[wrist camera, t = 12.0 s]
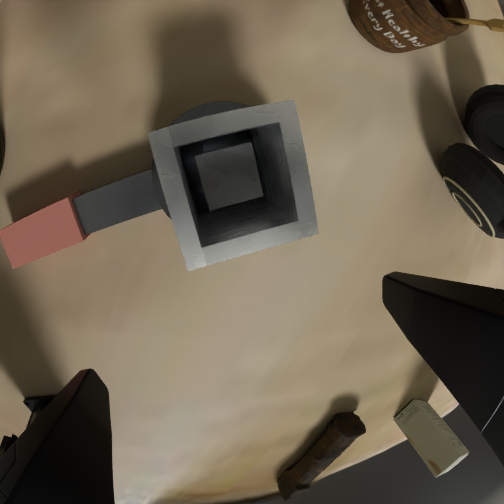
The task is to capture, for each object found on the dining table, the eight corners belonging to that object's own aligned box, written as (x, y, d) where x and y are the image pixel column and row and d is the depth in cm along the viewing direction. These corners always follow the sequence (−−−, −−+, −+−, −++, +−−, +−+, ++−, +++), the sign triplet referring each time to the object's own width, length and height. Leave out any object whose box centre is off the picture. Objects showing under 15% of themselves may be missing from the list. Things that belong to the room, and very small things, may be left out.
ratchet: (39, 286, 16) (9, 324, 12) (3, 191, 13) (-40, 208, 9) (288, 209, 18) (321, 232, 14) (264, 97, 15) (292, 80, 11)
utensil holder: (371, -20, 13) (478, -73, 2) (421, 39, 15) (541, 19, 4) (329, 7, 13) (452, -68, 2) (388, 72, 16) (532, 53, 5)
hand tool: (332, 409, 27) (348, 440, 23) (357, 409, 29) (374, 437, 24) (261, 482, 32) (268, 507, 28) (284, 481, 33) (292, 504, 29)
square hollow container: (188, 231, 15) (188, 271, 10) (162, 137, 13) (147, 132, 8) (279, 205, 15) (318, 233, 11) (260, 113, 13) (294, 99, 9)
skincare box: (391, 418, 32) (433, 479, 21) (413, 397, 31) (460, 456, 20) (409, 421, 34) (447, 473, 23) (429, 401, 33) (470, 453, 22)
